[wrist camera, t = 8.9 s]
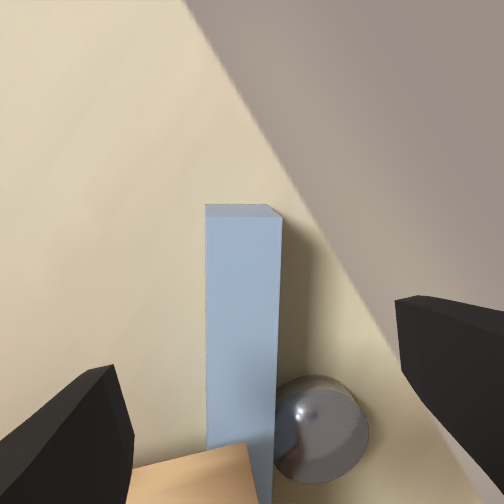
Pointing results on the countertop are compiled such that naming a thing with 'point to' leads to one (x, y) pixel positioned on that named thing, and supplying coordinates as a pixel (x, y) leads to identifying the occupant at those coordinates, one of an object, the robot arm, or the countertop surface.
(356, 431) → the grey round puck
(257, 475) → the push bar
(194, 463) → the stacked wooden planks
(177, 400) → the countertop surface
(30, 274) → the countertop surface
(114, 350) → the countertop surface
